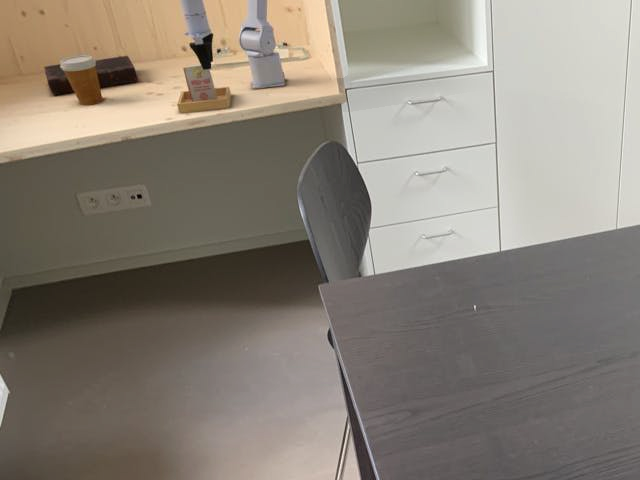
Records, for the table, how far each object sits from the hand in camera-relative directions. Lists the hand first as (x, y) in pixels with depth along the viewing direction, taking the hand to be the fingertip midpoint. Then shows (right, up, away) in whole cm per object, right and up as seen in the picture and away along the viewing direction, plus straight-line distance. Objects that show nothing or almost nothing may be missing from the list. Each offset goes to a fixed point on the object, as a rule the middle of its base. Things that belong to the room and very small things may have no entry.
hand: (208, 65), depth 222 cm
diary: (-47, +6, +28) cm, 56 cm away
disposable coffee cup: (-39, -6, +12) cm, 42 cm away
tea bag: (-3, -9, +5) cm, 11 cm away
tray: (-3, -9, +6) cm, 11 cm away
